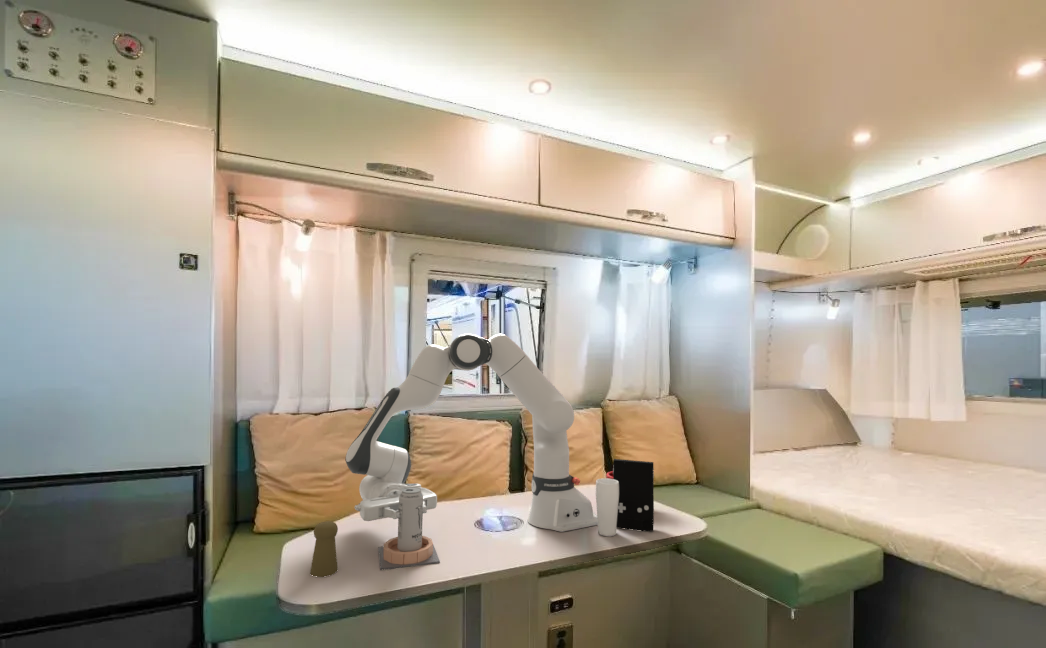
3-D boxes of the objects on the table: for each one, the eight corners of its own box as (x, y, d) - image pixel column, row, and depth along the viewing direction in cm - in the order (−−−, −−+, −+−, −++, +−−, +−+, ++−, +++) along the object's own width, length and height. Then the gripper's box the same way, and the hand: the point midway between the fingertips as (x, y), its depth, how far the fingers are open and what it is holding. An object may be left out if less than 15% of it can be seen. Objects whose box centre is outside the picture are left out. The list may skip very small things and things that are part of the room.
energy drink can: (417, 555, 118) (419, 493, 119) (393, 554, 118) (395, 492, 119) (424, 546, 124) (426, 487, 125) (402, 545, 124) (404, 486, 125)
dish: (432, 542, 130) (432, 531, 130) (439, 562, 117) (440, 550, 118) (378, 548, 125) (378, 537, 125) (380, 569, 113) (380, 557, 113)
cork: (315, 565, 114) (317, 518, 115) (341, 565, 115) (343, 518, 116) (305, 577, 108) (308, 527, 109) (333, 577, 109) (335, 527, 110)
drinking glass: (618, 539, 135) (619, 484, 136) (594, 536, 136) (595, 483, 137) (619, 530, 142) (619, 479, 143) (595, 528, 143) (596, 477, 144)
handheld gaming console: (612, 528, 144) (612, 460, 145) (614, 523, 148) (614, 457, 149) (653, 533, 140) (653, 463, 141) (654, 528, 144) (654, 460, 146)
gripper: (352, 493, 126) (371, 507, 115) (424, 482, 139) (446, 493, 128) (351, 518, 126) (369, 534, 115) (423, 504, 138) (446, 518, 127)
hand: (411, 512), depth 121 cm, fingers open, 6 cm apart
